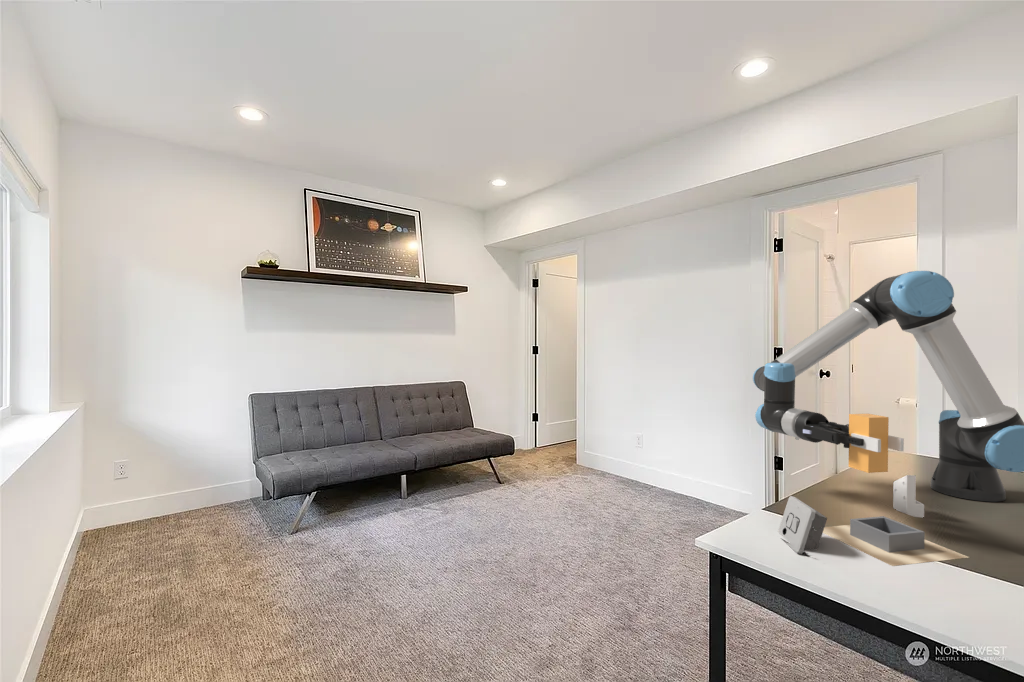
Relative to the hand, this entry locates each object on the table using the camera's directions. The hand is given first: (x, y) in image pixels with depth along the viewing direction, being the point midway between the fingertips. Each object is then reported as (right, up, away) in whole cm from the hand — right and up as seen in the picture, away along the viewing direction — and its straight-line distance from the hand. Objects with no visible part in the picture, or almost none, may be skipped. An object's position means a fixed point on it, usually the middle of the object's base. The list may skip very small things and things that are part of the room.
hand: (890, 445), depth 103 cm
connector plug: (-1, -6, +5) cm, 8 cm away
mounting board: (-3, -20, -3) cm, 21 cm away
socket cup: (-3, -19, -3) cm, 20 cm away
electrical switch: (-21, -21, -2) cm, 29 cm away
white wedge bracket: (+17, -20, +17) cm, 32 cm away
